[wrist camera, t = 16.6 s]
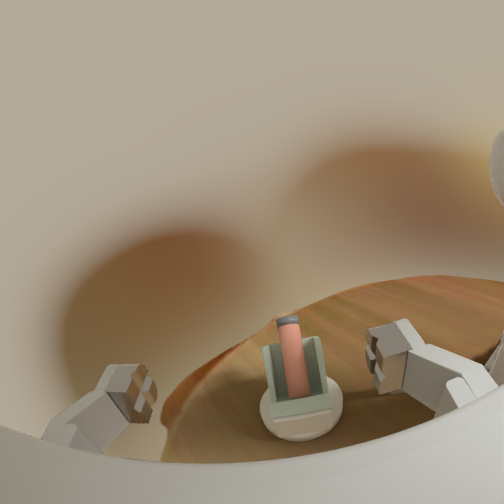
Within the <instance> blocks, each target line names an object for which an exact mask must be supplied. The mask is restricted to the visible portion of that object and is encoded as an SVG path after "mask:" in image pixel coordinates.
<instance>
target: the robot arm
mask: <svg viewBox="0 0 504 504" xmlns="http://www.w3.org/2000/svg"><path fill="white" fill-rule="evenodd" d="M489 171H490V177H491V182H492V186H493V189H494V191H495V194H496V196H497V198H498V199H499V201H500V203H501V204H502V205H503V207H504V129H502V130H501V131H500V132H499V134H498V135H497V137H496V138H495V140H494V142H493V145H492V148H491V152H490V158H489ZM366 340H367V343H368V346H367V347H366V362H367V366H368V369H369V371H370V373H372V374H373V375H374V383H375V386H376V388H377V391H378V393H379V395H380V394H384V393H388V392H391V391H395V390H398V389H402V390H403V391H405V392H406V393H408V394H409V395H411V396H412V397H413V398H415V399H416V400H418V401H419V402H421V403H422V404H424V405H425V406H427V407H428V408H430V409H431V410H433V411H434V412H436V413H435V416H434V418H433V419H432V420H430V421H427V422H425V423H422V424H419V425H417V426H414V427H411V428H409V429H406V430H403V431H400V432H397V433H394V434H391V435H388V436H385V437H381V438H378V439H375V440H371V441H368V442H364V443H360V444H356V445H352V446H348V447H344V448H340V449H335V450H331V451H326V452H321V453H315V454H310V455H304V456H298V457H291V458H284V459H276V460H266V461H256V462H241V463H211V464H201V463H171V462H157V461H146V460H137V459H128V458H121V457H115V456H108V455H105V454H103V452H104V451H105V450H106V449H107V448H108V447H109V446H110V445H111V444H112V442H114V440H115V439H116V438H117V437H118V436H119V435H120V434H121V433H122V432H123V431H124V430H125V429H126V428H127V427H128V426H129V425H130V423H149V420H150V417H151V414H152V409H151V406H152V405H153V404H154V403H155V402H156V398H157V388H156V385H155V383H154V381H153V379H151V378H150V377H148V376H147V373H148V370H147V369H146V367H145V366H144V365H142V364H120V365H118V364H115V365H113V364H112V365H109V366H107V368H106V370H105V371H104V373H103V375H102V377H101V379H100V380H99V382H98V384H97V386H96V388H95V390H94V391H93V392H89V393H88V394H86V395H85V396H84V397H82V398H81V399H79V400H78V401H77V402H75V403H74V404H72V405H71V406H70V407H68V408H67V409H65V410H64V411H63V412H61V413H60V414H58V415H57V416H55V417H54V418H53V419H52V420H51V421H50V423H49V425H48V427H47V428H46V430H45V432H44V434H43V436H42V438H41V439H38V438H35V437H32V436H29V435H26V434H23V433H20V432H18V431H15V430H12V429H10V428H7V427H4V426H2V425H0V504H504V332H503V334H502V337H501V341H500V343H499V345H498V347H497V348H496V350H495V351H494V353H493V354H492V355H491V357H490V358H489V360H488V361H487V363H486V364H485V365H484V366H483V365H482V364H479V363H477V362H474V361H472V360H469V359H466V358H464V357H461V356H459V355H456V354H454V353H451V352H449V351H446V350H444V349H441V348H439V347H436V346H434V345H431V344H427V345H426V344H425V343H424V341H423V340H422V339H421V337H420V336H419V334H418V333H417V332H416V330H415V329H414V327H413V326H412V325H411V323H410V322H409V321H408V319H406V318H405V319H401V320H398V321H395V322H393V323H389V324H386V325H382V326H378V327H375V328H371V329H367V330H366Z"/></svg>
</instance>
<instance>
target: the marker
mask: <svg viewBox="0 0 504 504" xmlns="http://www.w3.org/2000/svg"><path fill="white" fill-rule="evenodd" d="M276 323H277V328H278V333H279V339H280V346H281V352H282V358H283V365H284V371H285V377H286V384H287V390H288V397H289V399H292V398H299V397H304V396H309V395H311V392H310V386H309V380H308V374H307V368H306V362H305V356H304V350H303V344H302V339H301V333H300V328H299V320H298V316H285V317H281V318H279V319H277V320H276Z"/></svg>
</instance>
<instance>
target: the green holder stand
mask: <svg viewBox="0 0 504 504" xmlns="http://www.w3.org/2000/svg"><path fill="white" fill-rule="evenodd" d="M302 344H303V350H304V356H305V362H306V368H307V374H308V380H309V386H310V392H311V395H309V396H304V397H299V398H292V399H289V397H288V390H287V384H286V377H285V371H284V365H283V358H282V352H281V346H280V343H277V344H271V345H265V346H264V347H263V348H262V353H263V359H264V365H265V370H266V376H267V382H268V387H269V388H268V389H267V390H266V392H265V393H264V395H263V396H262V399H261V402H260V413H261V417H262V419H263V422H264V424H265V426H266V428H267V429H268V430H269V431H270V432H271V433H272V434H273V435H275V436H277V437H278V438H281V439H283V440H287V441H294V442H302V441H309V440H313V439H316V438H318V437H321V436H323V435H324V434H326V433H327V432H329V431H330V430H331V429H332V428H333V427H334V426H335V425H336V424H337V423H338V421H339V419H340V417H341V415H342V411H343V395H342V392H341V389H340V387H339V386H338V385H337V383H336V382H334V381H333V380H332V379H330V378H329V377H327V376H326V371H325V364H324V358H323V352H322V346H321V340H320V338H319V337H318V336H314V337H309V338H304V339H302Z"/></svg>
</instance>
